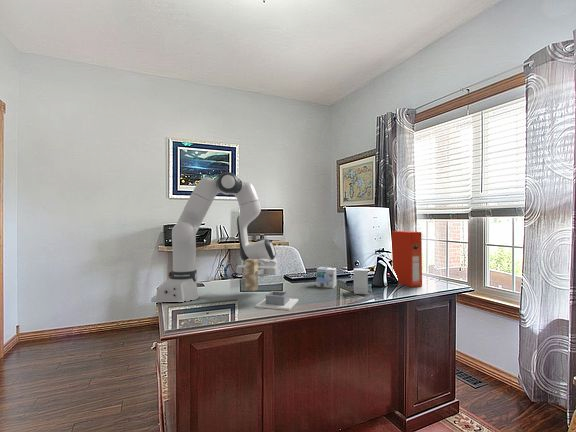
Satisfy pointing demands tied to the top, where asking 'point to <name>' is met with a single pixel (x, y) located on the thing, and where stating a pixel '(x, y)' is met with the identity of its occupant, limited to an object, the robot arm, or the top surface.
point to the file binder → (407, 257)
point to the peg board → (277, 301)
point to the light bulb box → (326, 277)
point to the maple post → (251, 274)
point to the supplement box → (360, 281)
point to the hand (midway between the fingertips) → (251, 272)
